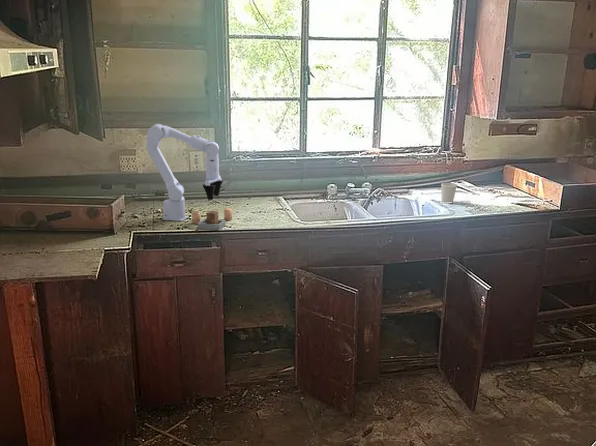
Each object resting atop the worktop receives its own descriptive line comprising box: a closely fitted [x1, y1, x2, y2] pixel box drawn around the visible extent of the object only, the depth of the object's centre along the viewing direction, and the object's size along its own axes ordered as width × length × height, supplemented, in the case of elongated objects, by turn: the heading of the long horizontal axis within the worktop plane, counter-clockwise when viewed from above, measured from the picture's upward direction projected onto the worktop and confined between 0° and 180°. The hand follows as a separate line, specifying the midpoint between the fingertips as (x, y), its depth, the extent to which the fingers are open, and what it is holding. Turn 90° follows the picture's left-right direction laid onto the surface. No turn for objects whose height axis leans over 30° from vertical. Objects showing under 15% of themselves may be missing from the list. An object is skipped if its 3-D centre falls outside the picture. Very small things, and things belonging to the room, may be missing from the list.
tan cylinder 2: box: [223, 207, 233, 222], centre depth 264 cm, size 4×4×5 cm
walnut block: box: [205, 210, 219, 225], centre depth 252 cm, size 4×4×6 cm
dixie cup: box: [440, 182, 458, 203], centre depth 302 cm, size 8×8×10 cm
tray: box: [197, 218, 226, 231], centre depth 253 cm, size 10×8×2 cm
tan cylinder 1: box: [191, 210, 201, 225], centre depth 258 cm, size 4×4×5 cm
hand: (213, 197), depth 263 cm, fingers open, 7 cm apart
